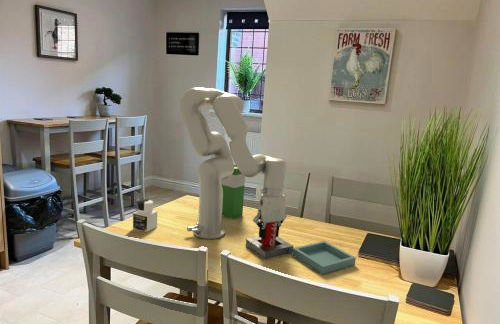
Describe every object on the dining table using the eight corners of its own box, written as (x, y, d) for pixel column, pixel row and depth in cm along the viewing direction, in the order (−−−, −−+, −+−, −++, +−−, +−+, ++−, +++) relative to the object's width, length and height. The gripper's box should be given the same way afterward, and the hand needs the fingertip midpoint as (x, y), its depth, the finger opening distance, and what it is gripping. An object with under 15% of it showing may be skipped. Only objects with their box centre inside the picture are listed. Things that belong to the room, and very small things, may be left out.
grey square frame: (264, 259, 130) (265, 252, 129) (245, 245, 140) (246, 238, 140) (292, 253, 137) (293, 245, 136) (272, 240, 147) (273, 233, 147)
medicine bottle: (132, 229, 149) (132, 201, 147) (143, 223, 156) (144, 197, 153) (146, 232, 147) (147, 204, 144) (157, 227, 153) (157, 199, 151)
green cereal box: (205, 209, 179) (207, 162, 174) (215, 206, 185) (217, 160, 180) (232, 219, 169) (235, 169, 164) (242, 215, 175) (245, 166, 170)
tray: (322, 275, 121) (323, 266, 121) (292, 255, 134) (292, 248, 134) (354, 265, 130) (355, 257, 129) (323, 248, 143) (324, 240, 142)
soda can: (270, 250, 135) (273, 220, 132) (257, 246, 137) (260, 216, 135) (277, 245, 139) (280, 216, 137) (264, 241, 142) (267, 213, 140)
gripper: (259, 196, 126) (255, 244, 130) (297, 192, 136) (292, 237, 139) (248, 190, 132) (244, 236, 136) (285, 186, 142) (280, 230, 145)
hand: (268, 236), depth 138 cm, fingers closed on soda can, 5 cm apart
